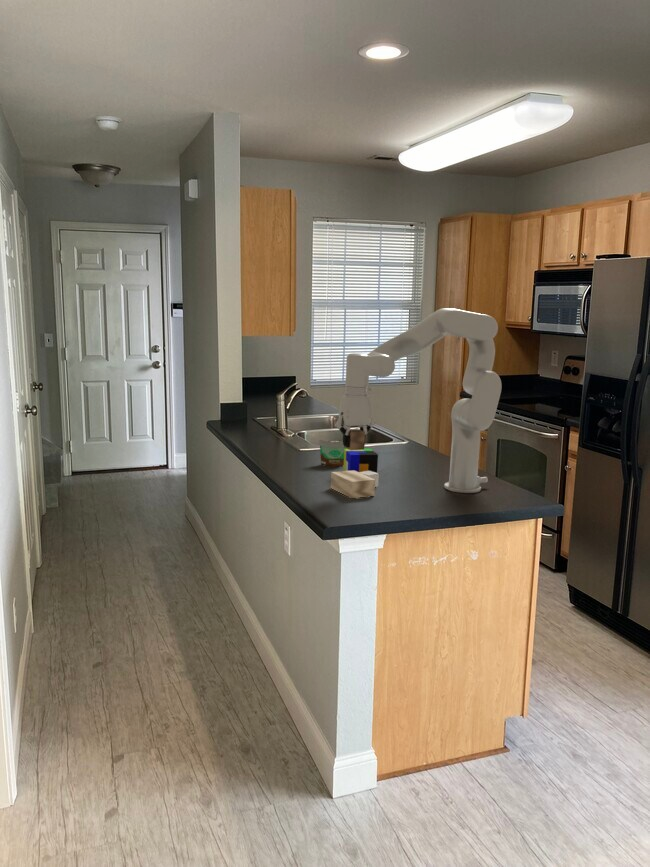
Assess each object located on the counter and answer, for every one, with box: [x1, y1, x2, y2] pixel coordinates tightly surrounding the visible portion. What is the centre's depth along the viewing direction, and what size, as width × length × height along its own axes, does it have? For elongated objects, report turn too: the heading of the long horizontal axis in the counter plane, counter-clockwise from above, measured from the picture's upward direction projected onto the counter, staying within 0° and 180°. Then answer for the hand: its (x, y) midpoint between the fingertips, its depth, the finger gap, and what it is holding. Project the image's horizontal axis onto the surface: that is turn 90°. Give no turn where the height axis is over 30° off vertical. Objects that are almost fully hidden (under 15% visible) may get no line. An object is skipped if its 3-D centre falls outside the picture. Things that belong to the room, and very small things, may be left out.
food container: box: [318, 439, 346, 468], centre depth 277 cm, size 12×6×10 cm, turn 112°
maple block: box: [330, 470, 376, 499], centre depth 239 cm, size 9×14×6 cm, turn 27°
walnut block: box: [344, 428, 366, 450], centre depth 236 cm, size 5×5×6 cm
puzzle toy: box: [342, 448, 379, 473], centre depth 258 cm, size 10×10×10 cm
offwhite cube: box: [359, 471, 380, 488], centre depth 248 cm, size 5×5×5 cm
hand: (354, 445), depth 237 cm, fingers closed on walnut block, 5 cm apart
